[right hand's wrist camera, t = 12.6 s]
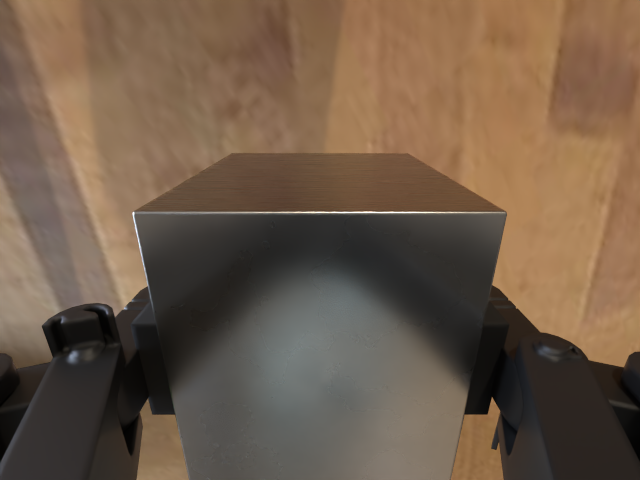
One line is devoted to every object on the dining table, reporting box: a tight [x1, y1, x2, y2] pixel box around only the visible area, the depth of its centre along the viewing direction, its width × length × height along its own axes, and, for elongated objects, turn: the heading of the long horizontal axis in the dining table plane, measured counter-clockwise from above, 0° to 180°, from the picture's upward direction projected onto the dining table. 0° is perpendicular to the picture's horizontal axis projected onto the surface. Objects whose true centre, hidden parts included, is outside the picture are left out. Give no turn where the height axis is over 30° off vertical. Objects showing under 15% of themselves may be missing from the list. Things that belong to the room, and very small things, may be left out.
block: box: [133, 153, 507, 480], centre depth 11 cm, size 8×7×8 cm
